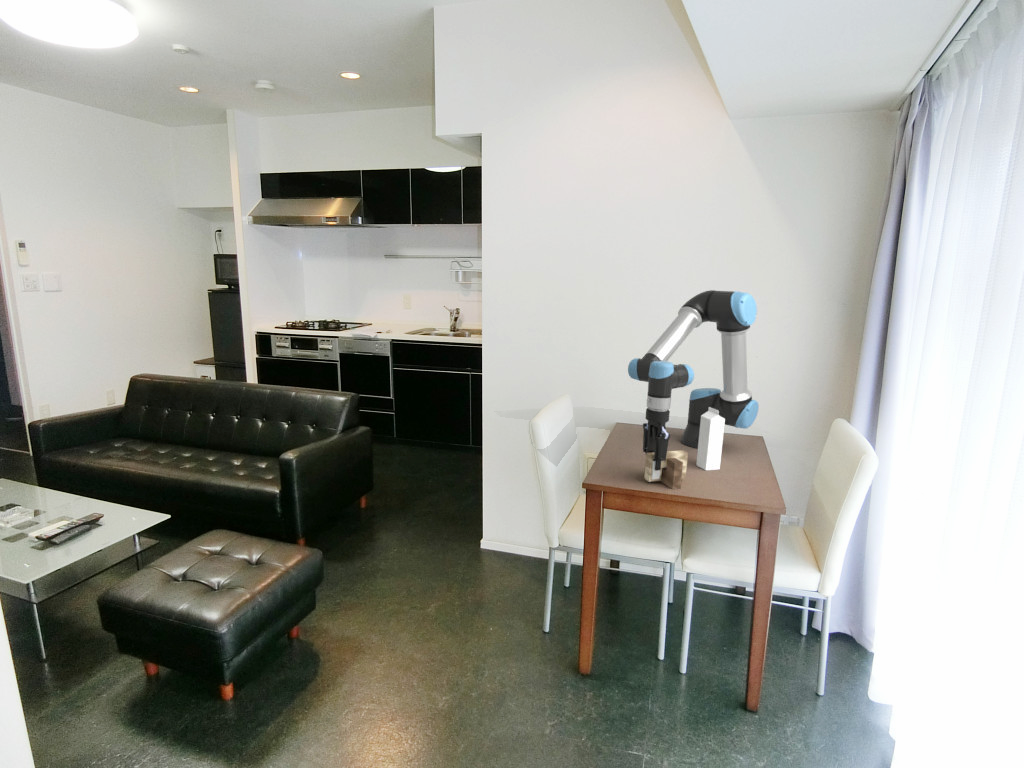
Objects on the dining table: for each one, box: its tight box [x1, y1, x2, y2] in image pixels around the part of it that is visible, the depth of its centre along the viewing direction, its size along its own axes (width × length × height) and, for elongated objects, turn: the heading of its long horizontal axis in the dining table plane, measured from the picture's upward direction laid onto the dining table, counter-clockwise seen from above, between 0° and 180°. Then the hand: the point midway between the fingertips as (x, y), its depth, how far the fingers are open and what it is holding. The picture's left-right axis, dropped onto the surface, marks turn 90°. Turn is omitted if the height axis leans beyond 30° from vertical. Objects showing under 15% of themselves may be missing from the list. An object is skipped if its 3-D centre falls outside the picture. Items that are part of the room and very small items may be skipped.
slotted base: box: [660, 458, 683, 490], centre depth 198 cm, size 3×14×9 cm, turn 18°
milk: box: [696, 407, 725, 471], centre depth 212 cm, size 6×6×22 cm
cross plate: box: [644, 449, 689, 483], centre depth 197 cm, size 14×3×9 cm, turn 108°
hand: (652, 476), depth 196 cm, fingers closed on cross plate, 3 cm apart
